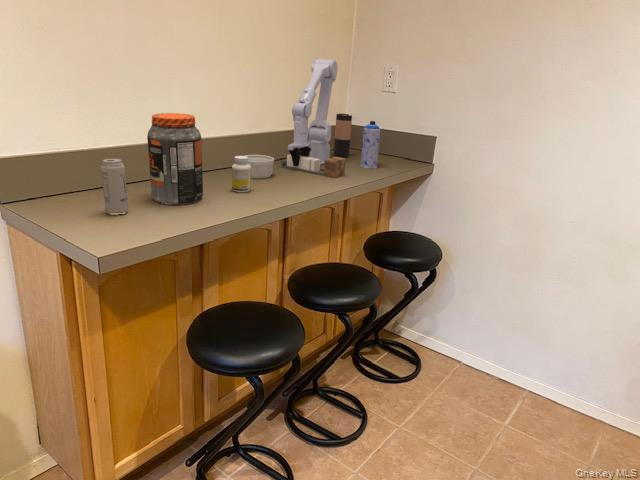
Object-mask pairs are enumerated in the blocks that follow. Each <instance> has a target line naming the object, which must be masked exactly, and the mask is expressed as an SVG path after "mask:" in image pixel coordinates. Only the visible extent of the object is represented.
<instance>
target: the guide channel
mask: <svg viewBox="0 0 640 480" xmlns="http://www.w3.org/2000/svg"><path fill="white" fill-rule="evenodd" d="M280 165H281V168H283V169H284V168H285V169H288V170H293V171H298V172H302V173H308V174H313V175H317V176H321V177H325V176H324V168H321V167H320V171H318V172H314V171H309V170H304V169H300V168H295V167H290V166H287V159H285V160H281V161H280Z"/></svg>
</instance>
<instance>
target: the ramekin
mask: <svg viewBox="0 0 640 480" xmlns="http://www.w3.org/2000/svg"><path fill="white" fill-rule="evenodd" d="M245 156H247V157H248V164H249V165H250V166H251V179H256V180H257V179H267V178H270V177H271V175H272V174H273V171H274V170H273V169H274V163H275V158H274V157H272V156H269V155H263V154H248V155H247V154H245Z"/></svg>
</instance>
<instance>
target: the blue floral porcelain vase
mask: <svg viewBox="0 0 640 480" xmlns="http://www.w3.org/2000/svg"><path fill="white" fill-rule="evenodd" d="M380 140H381V128H380V127H379V125H377V124H376V121H374V120H371V121H369V124H366V125H365V126H364V128H363V133H362V144H361V154H360V165H359V167H360V168H363V169H373V170H374V169H377V168H378V161H379V159H378V157H379V149H380Z"/></svg>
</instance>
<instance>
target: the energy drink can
mask: <svg viewBox="0 0 640 480" xmlns="http://www.w3.org/2000/svg"><path fill="white" fill-rule="evenodd" d="M100 172H101V180H102V191H103V200H104V209H105V210H104V211H105V212H107V213H108V212H109V213H123V212H126V211H127V212H128V210H129V201H128V189H127V179H126V178H127V177H126V166H125V164H124V163H123V159H120V158H105V159H102V164H101V166H100Z"/></svg>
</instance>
